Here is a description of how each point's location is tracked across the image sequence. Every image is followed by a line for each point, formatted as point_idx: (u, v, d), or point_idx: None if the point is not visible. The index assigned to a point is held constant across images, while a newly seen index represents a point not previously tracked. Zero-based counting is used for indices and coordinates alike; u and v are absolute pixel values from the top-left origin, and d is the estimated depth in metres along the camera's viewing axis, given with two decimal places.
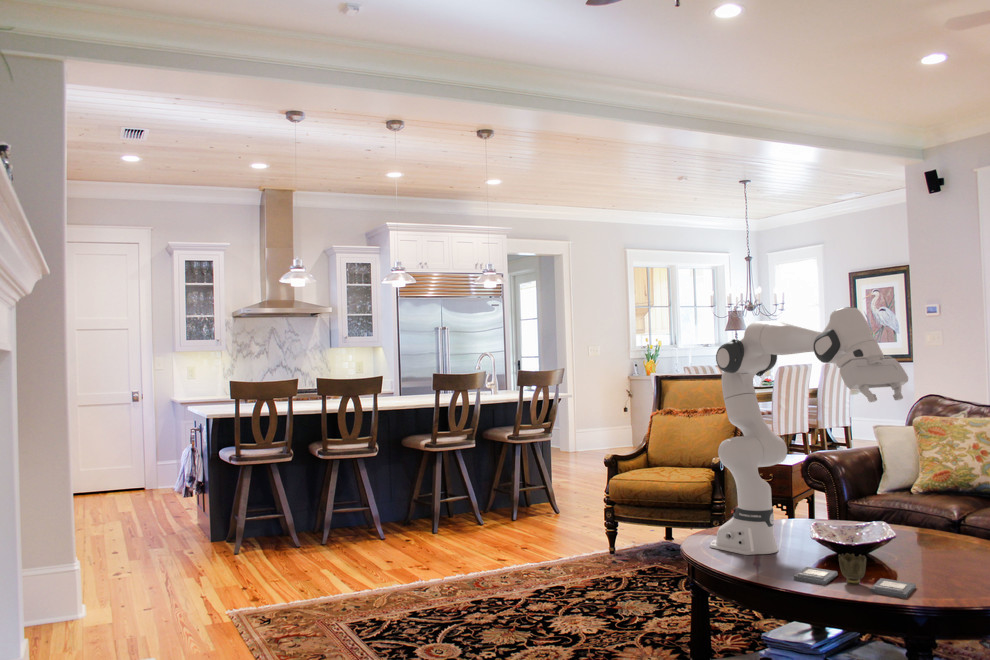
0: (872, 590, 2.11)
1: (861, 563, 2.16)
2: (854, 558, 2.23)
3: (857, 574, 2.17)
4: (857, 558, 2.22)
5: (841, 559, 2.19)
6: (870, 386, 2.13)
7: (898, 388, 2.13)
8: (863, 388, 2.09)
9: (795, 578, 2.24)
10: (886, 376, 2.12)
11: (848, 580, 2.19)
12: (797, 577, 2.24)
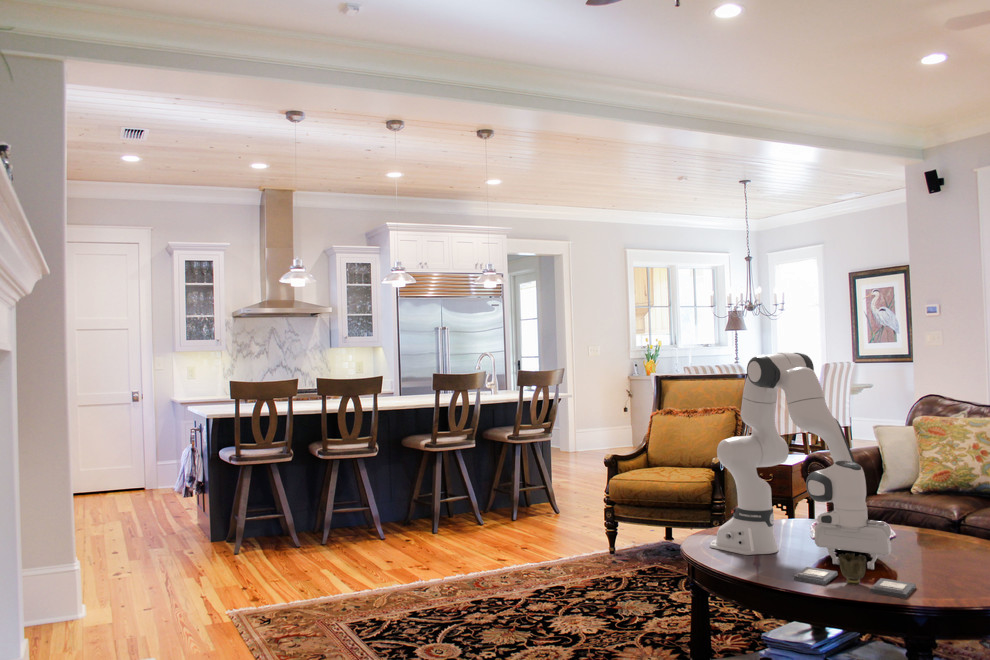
0: (872, 590, 2.11)
1: (861, 563, 2.16)
2: (854, 558, 2.23)
3: (857, 574, 2.17)
4: (857, 558, 2.22)
5: (841, 559, 2.19)
6: None
7: None
8: None
9: (795, 578, 2.24)
10: (857, 545, 2.17)
11: (848, 580, 2.19)
12: (797, 577, 2.24)
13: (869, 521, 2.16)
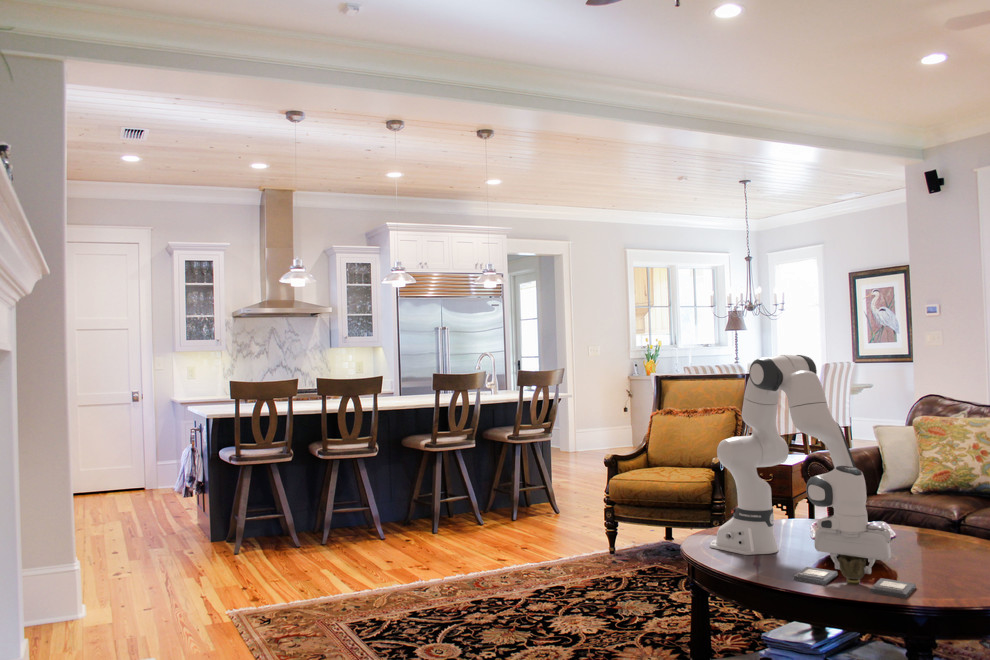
0: (872, 590, 2.11)
1: (861, 563, 2.16)
2: (854, 558, 2.23)
3: (857, 574, 2.17)
4: (857, 558, 2.22)
5: (841, 559, 2.19)
6: None
7: None
8: None
9: (795, 578, 2.24)
10: (857, 550, 2.17)
11: (848, 580, 2.19)
12: (797, 577, 2.24)
13: (869, 526, 2.17)
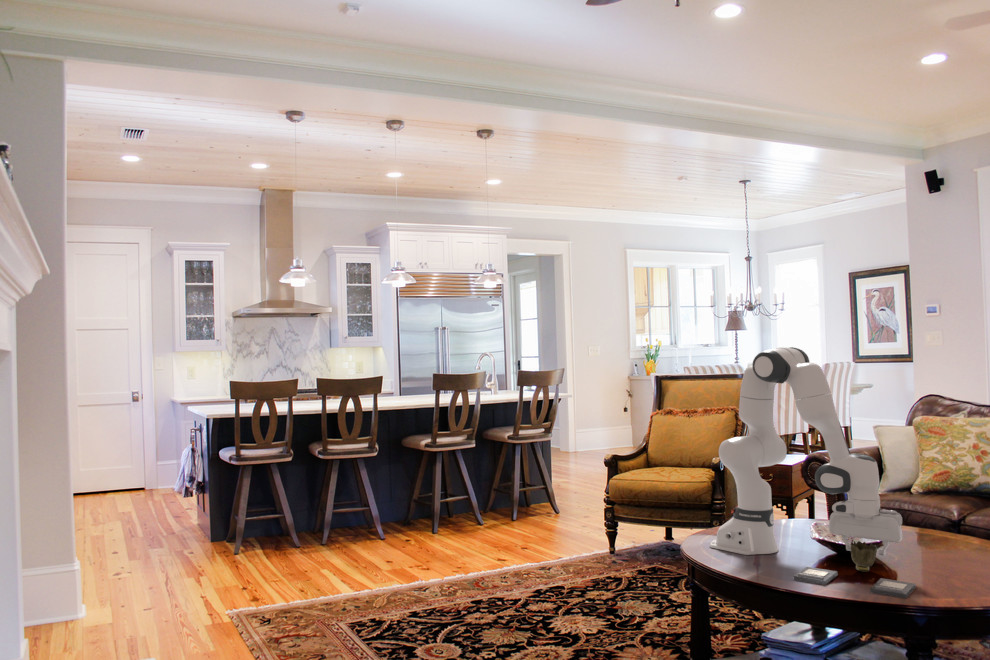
0: (872, 590, 2.11)
1: (872, 552, 2.28)
2: (865, 546, 2.35)
3: (867, 562, 2.29)
4: (868, 547, 2.34)
5: (853, 547, 2.31)
6: None
7: (884, 545, 2.28)
8: None
9: (795, 578, 2.24)
10: (870, 533, 2.29)
11: (858, 567, 2.31)
12: (797, 577, 2.24)
13: (882, 510, 2.28)
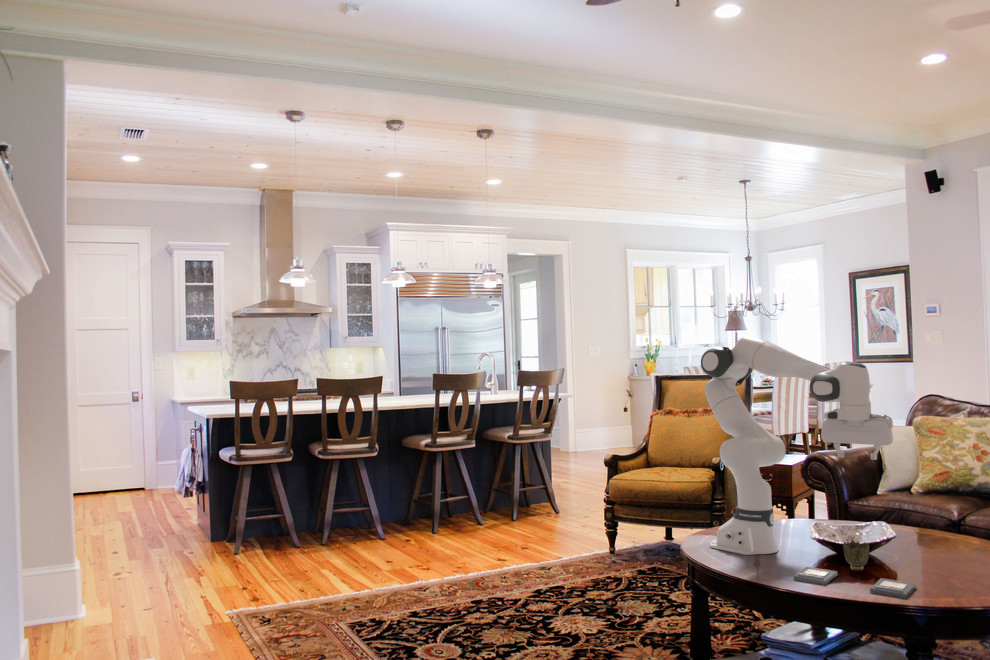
0: (872, 590, 2.11)
1: (863, 551, 2.30)
2: (859, 546, 2.36)
3: (860, 561, 2.30)
4: (862, 546, 2.35)
5: (844, 546, 2.33)
6: None
7: None
8: None
9: (795, 578, 2.24)
10: (861, 438, 2.33)
11: (851, 566, 2.33)
12: (797, 577, 2.24)
13: (872, 415, 2.32)
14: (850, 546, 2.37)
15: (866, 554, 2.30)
